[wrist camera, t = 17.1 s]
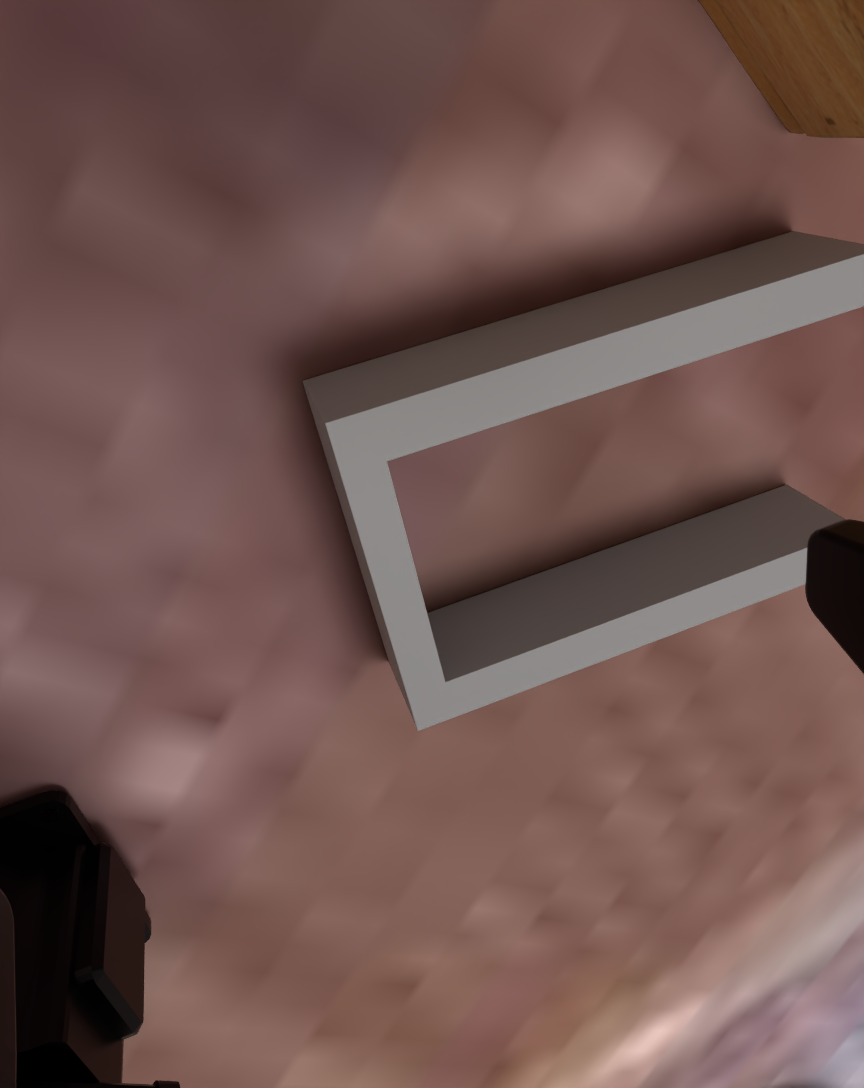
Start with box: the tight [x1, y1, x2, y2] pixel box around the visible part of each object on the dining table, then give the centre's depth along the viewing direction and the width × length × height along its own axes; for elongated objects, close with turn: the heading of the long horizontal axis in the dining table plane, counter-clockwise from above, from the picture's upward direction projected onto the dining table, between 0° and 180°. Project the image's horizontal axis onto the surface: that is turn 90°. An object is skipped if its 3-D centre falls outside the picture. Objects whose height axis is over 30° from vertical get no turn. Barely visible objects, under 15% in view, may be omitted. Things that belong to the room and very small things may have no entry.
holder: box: [303, 231, 864, 731], centre depth 20 cm, size 13×9×3 cm, turn 102°
